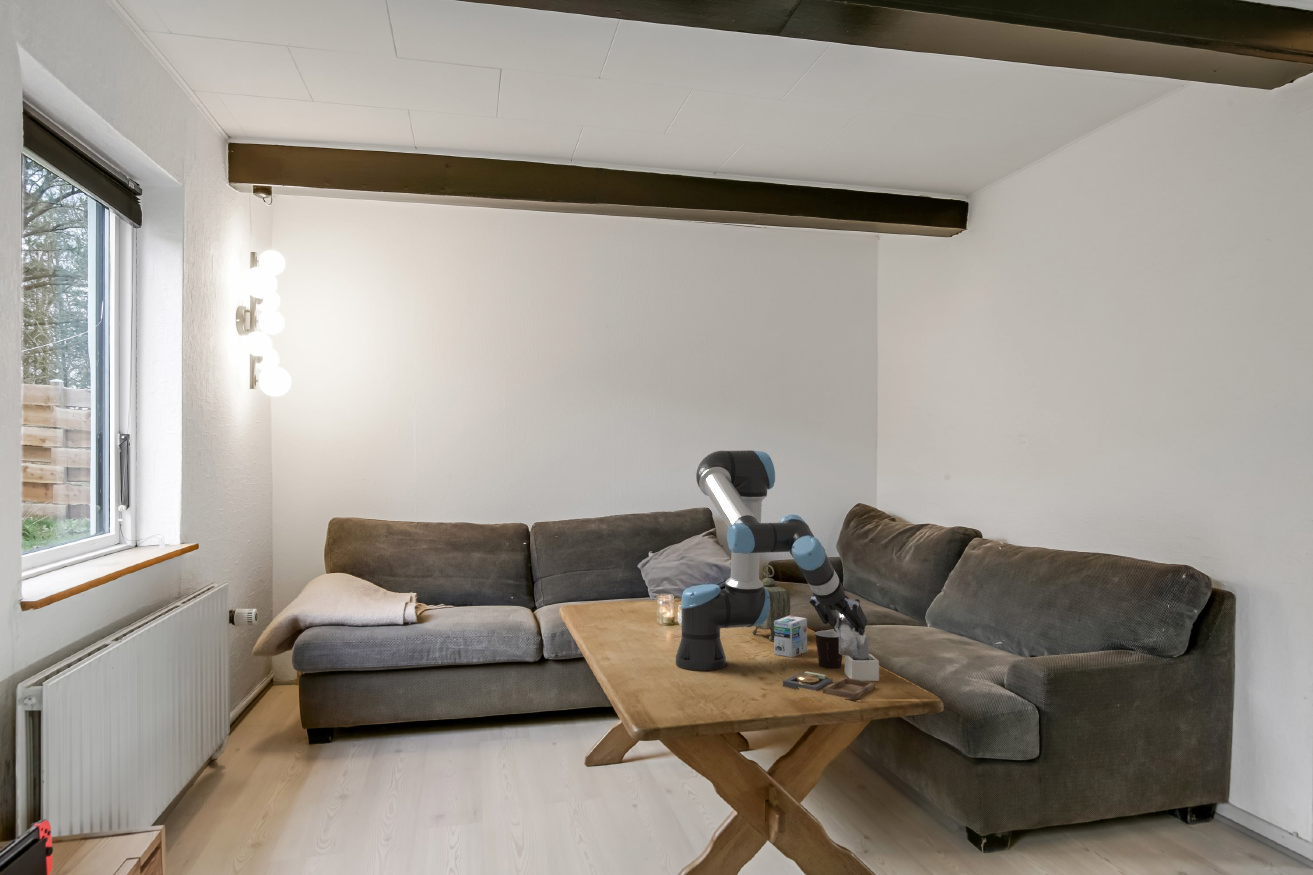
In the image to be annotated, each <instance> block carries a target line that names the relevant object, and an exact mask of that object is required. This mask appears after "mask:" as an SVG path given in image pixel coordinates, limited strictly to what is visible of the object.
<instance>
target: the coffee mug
mask: <svg viewBox="0 0 1313 875" xmlns="http://www.w3.org/2000/svg"><path fill="white" fill-rule="evenodd" d="M814 636H815V642H816V651H817V661H818V666H819V668H823V669H828V670H833V669H841V668H842V664H843V663H842V662H843V657H844V655H840V654H839V635H838V633H837V632H835V631H834V630H820V631H819V630H818V631H816V632H815V633H814Z"/></svg>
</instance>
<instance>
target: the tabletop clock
mask: <svg viewBox="0 0 1313 875" xmlns="http://www.w3.org/2000/svg"><path fill="white" fill-rule="evenodd" d="M766 567H767V568H770V569H771V570H772V574H771V573H770V572H765V568H766ZM762 573H763V575H764V577H765V578H763V579H762V580H761V582H762V583H763V587H764V588H766V589H767V591H768V593H769V599H770V610H769V614H768V617H767V619H766V621H765V622H764V623H763V624H762V625H759V626H754V628H755V629H752V630H751V632H752V633H751V634H753V635H756V634H757V632H758V629H760V630H765V631H766V630H770V635H769V636H768V640H769V641H770V642H771V641H774V621H775V620H778V619H781V618H784V617H787V616H791V595H790V592H789V591H788V590H787V589H786V588H784V587H782V586H779V585H777V583H776V581H775V579H773V578H772V577H774V575H775V569H774V567H773V565H770V564H764V565H763V567H762Z"/></svg>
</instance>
